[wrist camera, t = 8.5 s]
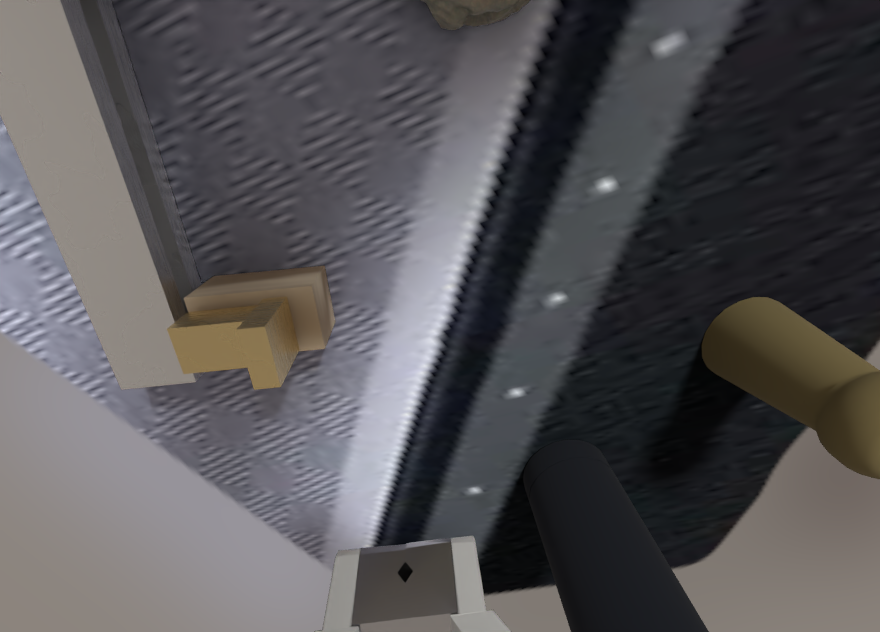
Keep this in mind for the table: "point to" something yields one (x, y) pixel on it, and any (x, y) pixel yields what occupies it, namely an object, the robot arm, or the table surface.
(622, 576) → the wine bottle
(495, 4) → the elongated rock
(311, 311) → the tan wooden block
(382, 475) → the table surface
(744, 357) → the cork
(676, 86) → the table surface
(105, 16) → the base
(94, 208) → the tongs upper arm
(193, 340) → the tan l-shaped block
